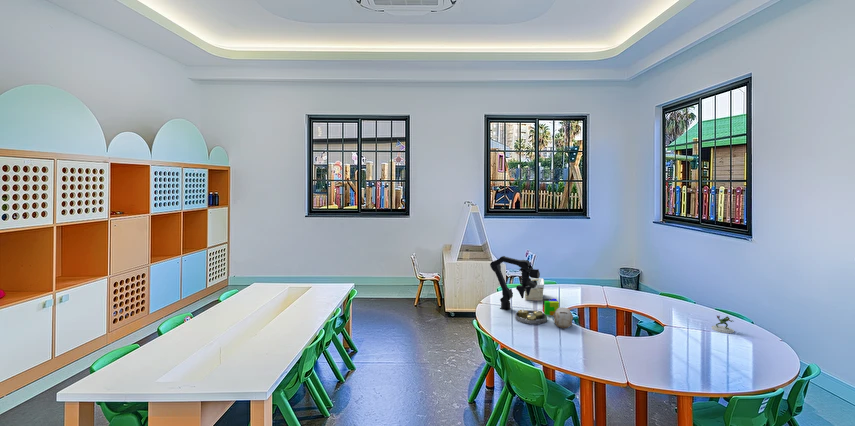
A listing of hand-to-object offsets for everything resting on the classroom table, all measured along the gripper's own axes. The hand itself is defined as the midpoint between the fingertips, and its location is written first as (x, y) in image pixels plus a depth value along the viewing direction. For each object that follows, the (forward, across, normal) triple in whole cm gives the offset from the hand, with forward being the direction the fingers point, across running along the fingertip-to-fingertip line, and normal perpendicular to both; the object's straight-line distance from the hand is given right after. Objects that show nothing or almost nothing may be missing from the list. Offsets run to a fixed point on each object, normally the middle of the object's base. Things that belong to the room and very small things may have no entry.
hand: (525, 296), depth 297 cm
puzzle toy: (+12, +10, -16) cm, 23 cm away
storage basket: (+12, +41, +12) cm, 44 cm away
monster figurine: (+12, +50, -118) cm, 129 cm away
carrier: (+12, -11, -10) cm, 19 cm away
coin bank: (+12, -8, -32) cm, 36 cm away
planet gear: (+11, -11, -4) cm, 16 cm away
